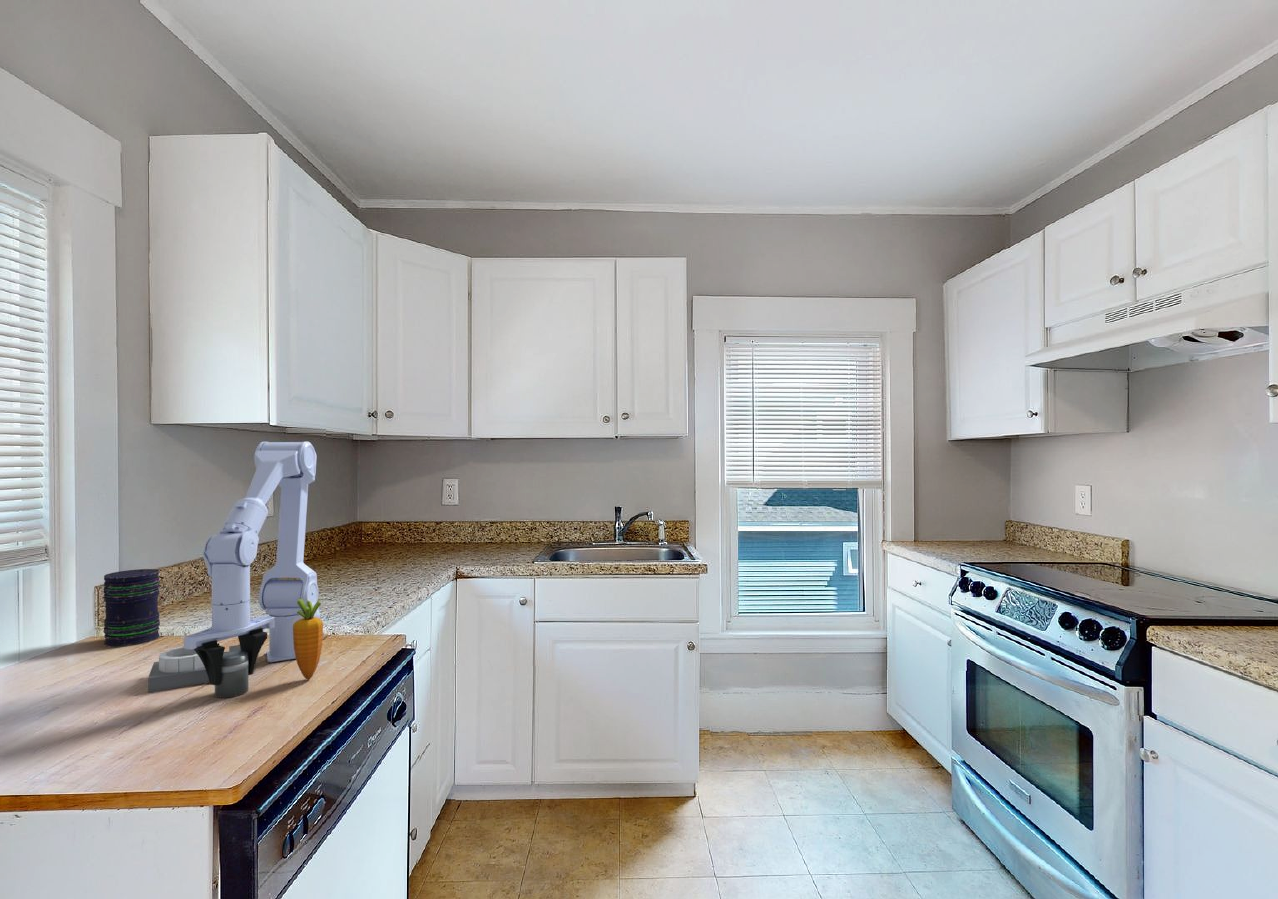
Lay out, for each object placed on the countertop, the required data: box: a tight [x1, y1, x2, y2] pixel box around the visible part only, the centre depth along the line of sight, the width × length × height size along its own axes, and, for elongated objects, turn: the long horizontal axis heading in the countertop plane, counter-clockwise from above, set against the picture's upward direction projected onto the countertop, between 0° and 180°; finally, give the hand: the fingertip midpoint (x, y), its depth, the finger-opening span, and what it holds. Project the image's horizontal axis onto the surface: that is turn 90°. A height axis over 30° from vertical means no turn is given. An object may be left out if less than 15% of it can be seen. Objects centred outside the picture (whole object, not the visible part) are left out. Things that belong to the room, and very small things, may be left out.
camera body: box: [147, 644, 241, 693], centre depth 122 cm, size 15×10×5 cm, turn 122°
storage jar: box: [103, 568, 161, 648], centre depth 144 cm, size 10×10×15 cm
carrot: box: [293, 599, 324, 681], centre depth 120 cm, size 5×5×15 cm
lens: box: [214, 651, 249, 699], centre depth 114 cm, size 5×5×7 cm
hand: (231, 678), depth 114 cm, fingers closed on lens, 5 cm apart
